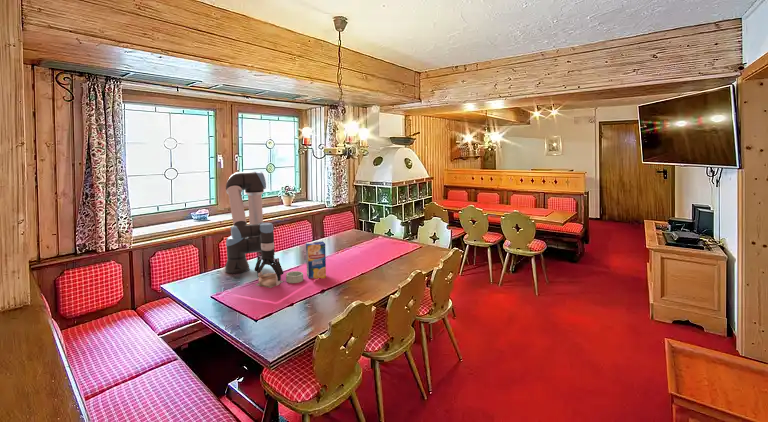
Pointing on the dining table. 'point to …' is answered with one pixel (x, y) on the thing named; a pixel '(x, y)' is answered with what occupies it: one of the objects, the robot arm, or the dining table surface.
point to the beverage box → (316, 260)
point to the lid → (267, 279)
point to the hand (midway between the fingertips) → (269, 284)
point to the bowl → (294, 277)
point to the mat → (270, 286)
